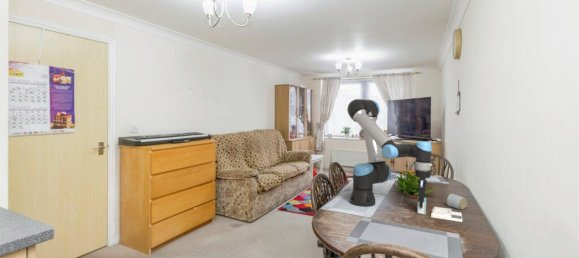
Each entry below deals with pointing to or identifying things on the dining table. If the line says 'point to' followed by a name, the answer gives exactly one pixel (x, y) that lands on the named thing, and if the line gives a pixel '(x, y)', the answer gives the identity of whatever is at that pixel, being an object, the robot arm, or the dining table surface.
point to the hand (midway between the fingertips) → (421, 212)
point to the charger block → (424, 206)
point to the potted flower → (409, 184)
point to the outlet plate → (446, 214)
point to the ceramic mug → (456, 201)
